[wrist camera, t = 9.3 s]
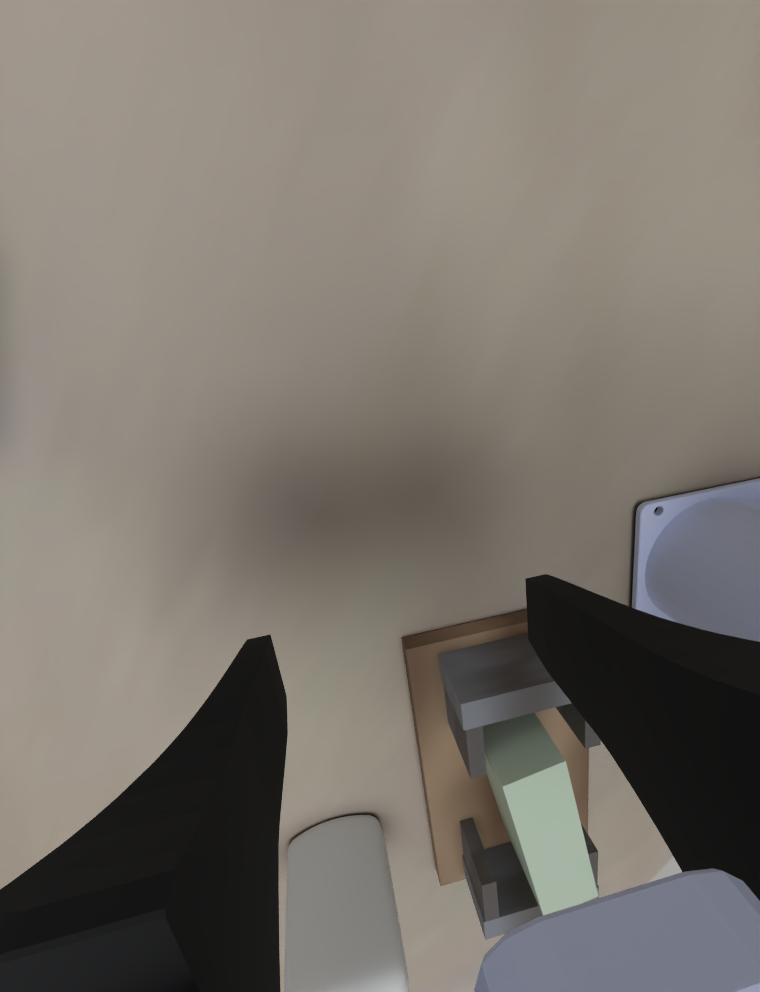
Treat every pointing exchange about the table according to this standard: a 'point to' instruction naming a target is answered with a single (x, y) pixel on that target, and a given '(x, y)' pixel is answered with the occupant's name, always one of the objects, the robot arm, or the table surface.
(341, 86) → the table surface
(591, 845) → the slotted holder
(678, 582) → the robot arm
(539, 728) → the rail plank
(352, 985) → the eye dropper bottle
